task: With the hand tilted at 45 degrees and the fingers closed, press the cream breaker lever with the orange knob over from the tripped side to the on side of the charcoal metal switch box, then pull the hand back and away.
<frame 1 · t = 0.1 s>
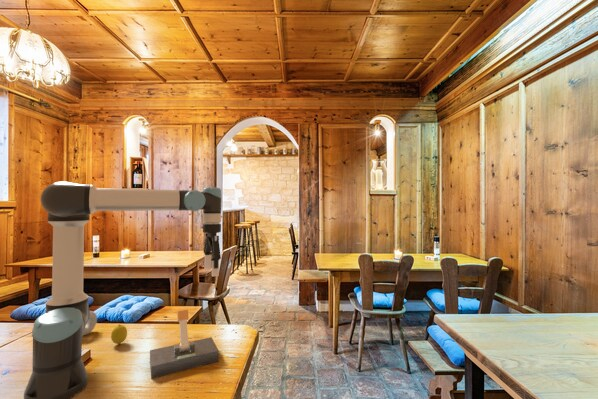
hand: (211, 272, 125), 28 cm above the table, tool pointing down, fingers open, 13 cm apart
breaker lever: (183, 330, 109), point 10 cm above the table, hinge at -30.0°
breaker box: (184, 361, 106), on the table
lemon: (119, 344, 119), on the table
donut: (86, 334, 127), on the table
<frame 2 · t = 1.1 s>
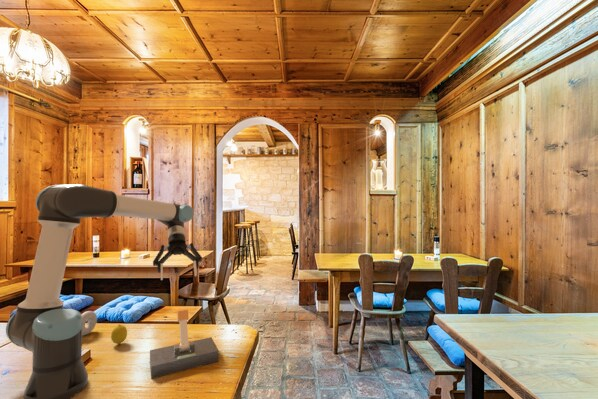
hand: (179, 276, 126), 26 cm above the table, tool tilted 45°, fingers open, 13 cm apart
nothing on the table moved.
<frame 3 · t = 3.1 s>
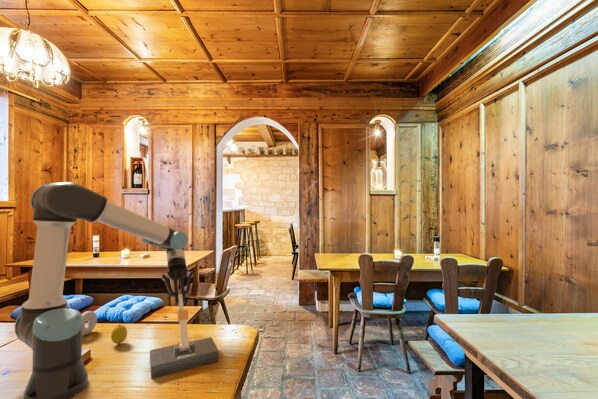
hand: (181, 310, 117), 15 cm above the table, tool tilted 45°, fingers closed
nothing on the table moved.
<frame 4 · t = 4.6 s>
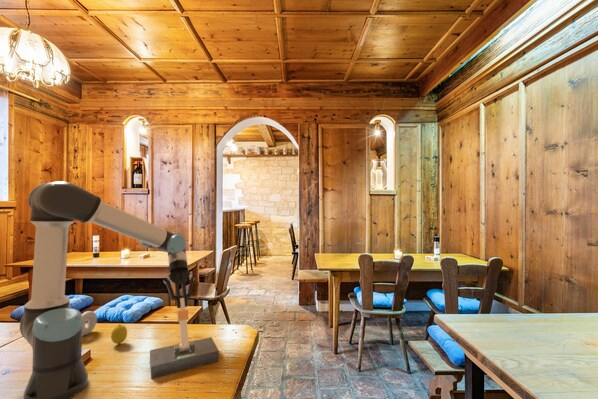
hand: (183, 314, 114), 14 cm above the table, tool tilted 45°, fingers closed
breaker lever: (183, 330, 109), point 10 cm above the table, hinge at -29.9°, touching gripper
everything else where it was.
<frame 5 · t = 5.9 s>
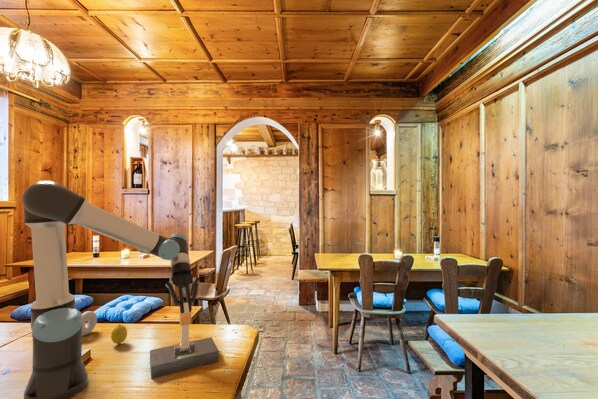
hand: (187, 320, 108), 14 cm above the table, tool tilted 45°, fingers closed
breaker lever: (185, 332, 106), point 11 cm above the table, hinge at 9.7°, touching gripper
everything else where it was.
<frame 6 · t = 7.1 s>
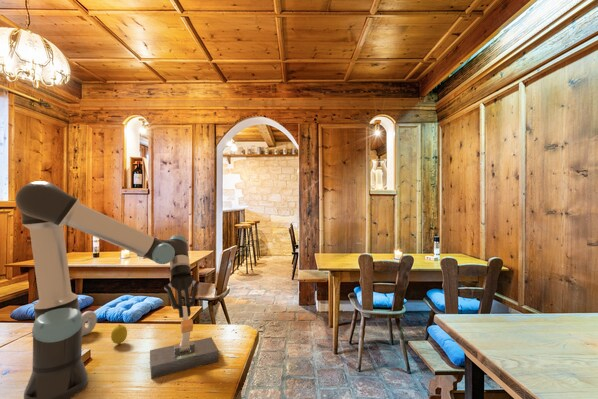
hand: (186, 325, 104), 14 cm above the table, tool tilted 45°, fingers closed
breaker lever: (185, 336, 104), point 10 cm above the table, hinge at 29.7°, touching gripper
everything else where it was.
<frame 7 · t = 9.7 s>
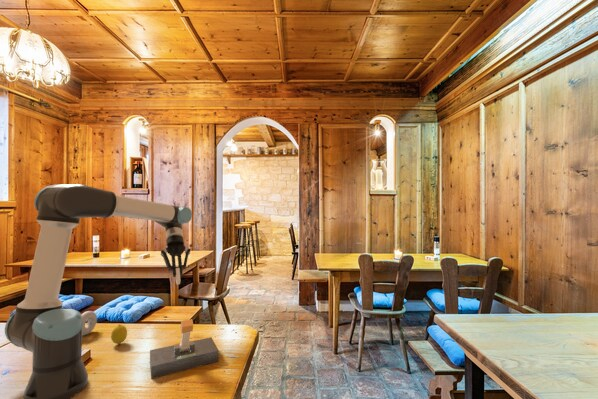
hand: (178, 282, 124), 24 cm above the table, tool tilted 45°, fingers closed
breaker lever: (185, 336, 104), point 10 cm above the table, hinge at 29.9°
everything else where it was.
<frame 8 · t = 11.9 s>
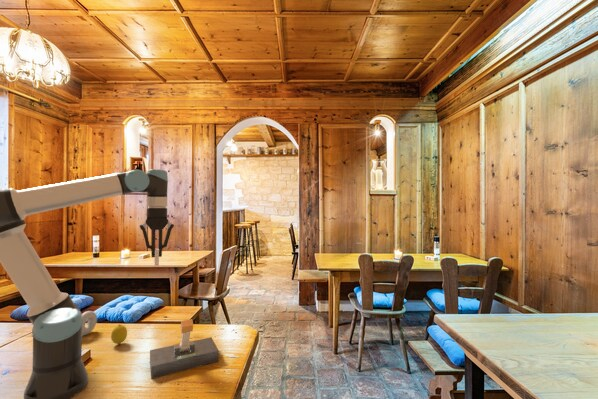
hand: (156, 264, 119), 32 cm above the table, tool pointing down, fingers closed
nothing on the table moved.
at the end: breaker lever at +30° (first picture: -30°); lemon moved 0.2 cm from its start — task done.
